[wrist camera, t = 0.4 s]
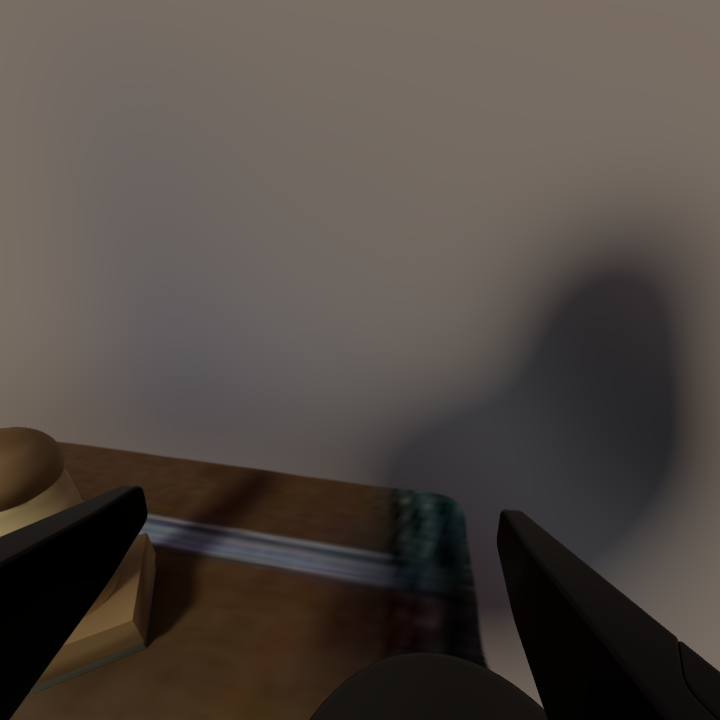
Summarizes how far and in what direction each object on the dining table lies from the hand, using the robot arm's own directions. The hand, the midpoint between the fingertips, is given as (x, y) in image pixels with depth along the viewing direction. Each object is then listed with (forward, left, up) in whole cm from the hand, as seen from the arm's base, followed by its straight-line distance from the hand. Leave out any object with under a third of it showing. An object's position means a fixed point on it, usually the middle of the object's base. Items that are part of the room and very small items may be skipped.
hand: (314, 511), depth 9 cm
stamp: (+2, +16, -17) cm, 23 cm away
